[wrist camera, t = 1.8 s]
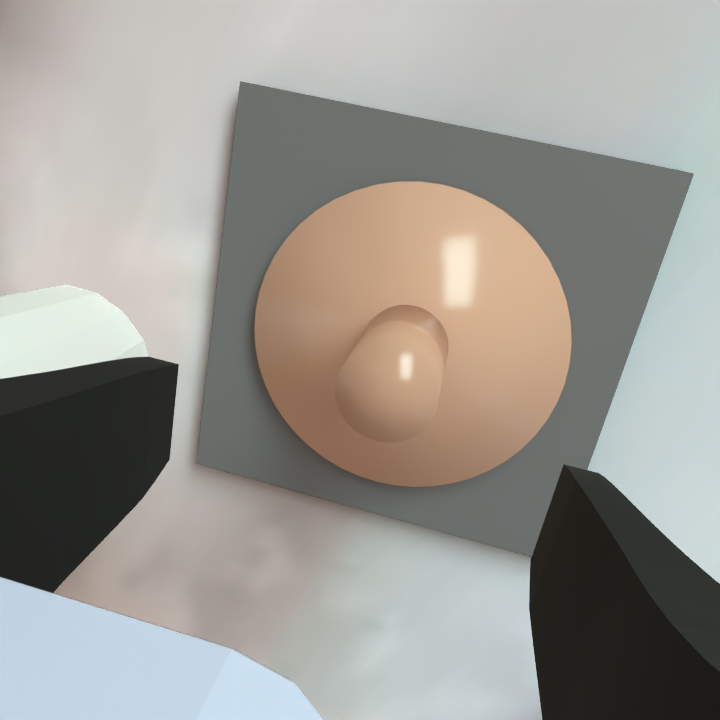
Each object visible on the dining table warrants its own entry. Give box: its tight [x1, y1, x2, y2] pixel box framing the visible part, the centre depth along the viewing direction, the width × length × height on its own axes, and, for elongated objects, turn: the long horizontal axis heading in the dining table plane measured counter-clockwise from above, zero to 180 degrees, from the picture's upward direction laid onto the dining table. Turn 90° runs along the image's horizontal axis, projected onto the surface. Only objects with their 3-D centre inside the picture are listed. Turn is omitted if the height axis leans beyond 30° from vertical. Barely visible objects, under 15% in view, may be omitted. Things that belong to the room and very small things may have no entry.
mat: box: [196, 81, 694, 557], centre depth 19 cm, size 12×12×1 cm
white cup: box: [0, 285, 148, 379], centre depth 19 cm, size 7×7×7 cm
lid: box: [254, 181, 572, 487], centre depth 17 cm, size 9×9×4 cm
